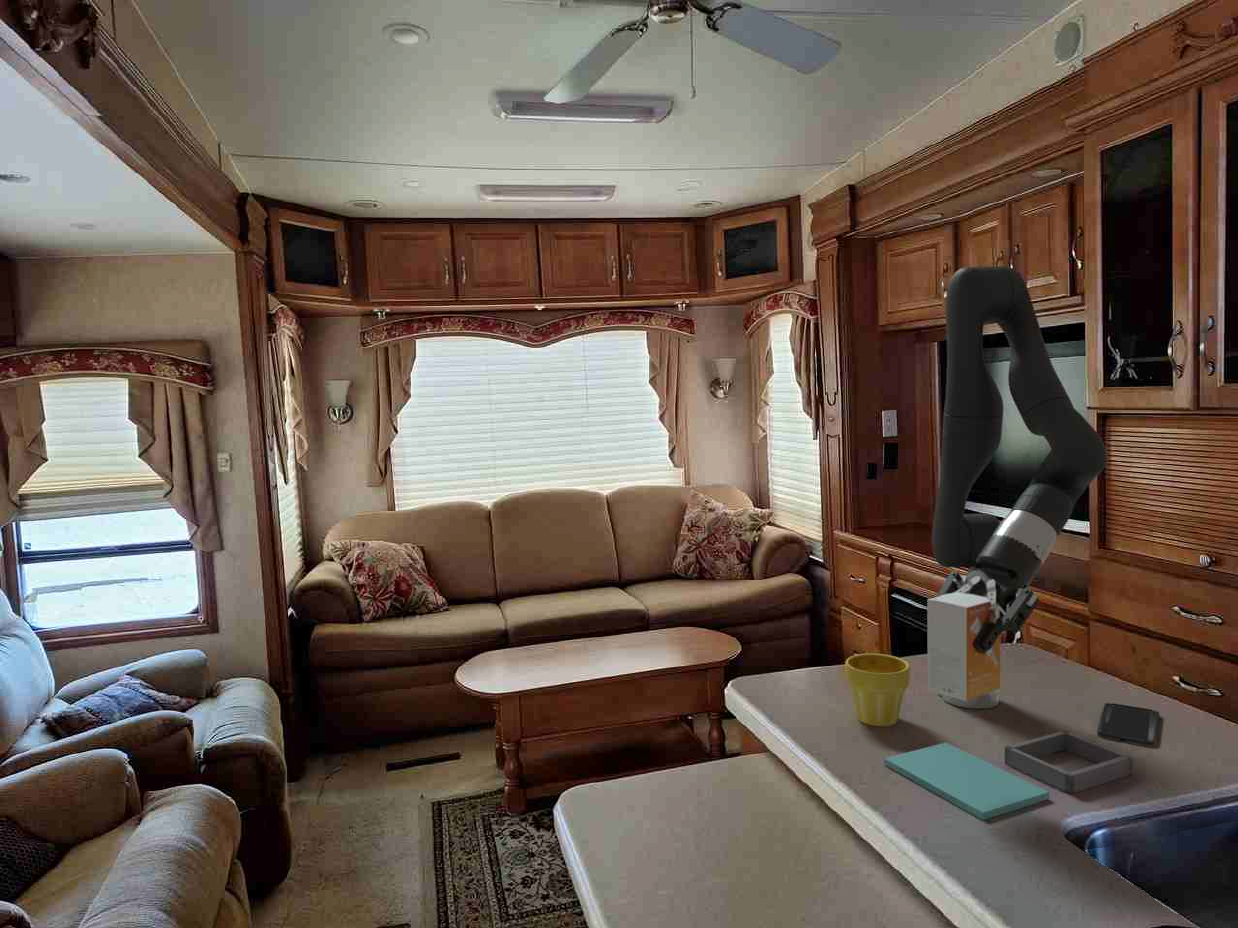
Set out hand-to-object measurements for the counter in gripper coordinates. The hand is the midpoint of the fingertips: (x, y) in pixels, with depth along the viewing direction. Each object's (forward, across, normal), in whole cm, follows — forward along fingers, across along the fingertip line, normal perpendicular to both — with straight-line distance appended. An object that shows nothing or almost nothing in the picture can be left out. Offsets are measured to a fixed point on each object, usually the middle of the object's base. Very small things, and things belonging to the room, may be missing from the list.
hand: (956, 642), depth 113 cm
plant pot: (+10, -23, +19) cm, 32 cm away
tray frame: (+2, +4, +26) cm, 27 cm away
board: (+13, 0, +15) cm, 20 cm away
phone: (-13, -2, +43) cm, 45 cm away
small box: (+4, 0, +6) cm, 7 cm away
